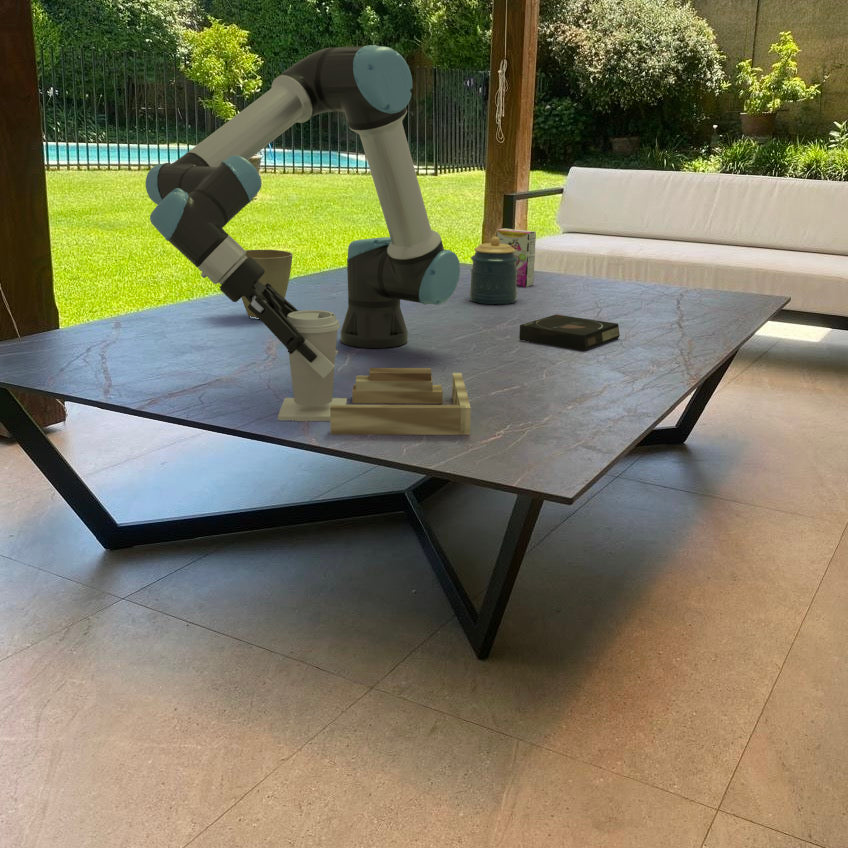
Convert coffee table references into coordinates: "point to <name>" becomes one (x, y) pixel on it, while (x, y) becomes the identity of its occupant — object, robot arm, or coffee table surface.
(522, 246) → the candy bar box
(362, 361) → the coffee table surface
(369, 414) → the frame
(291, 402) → the ceramic tile
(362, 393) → the offcut stack
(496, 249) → the canister
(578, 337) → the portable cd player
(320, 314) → the coffee cup
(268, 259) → the plant pot
